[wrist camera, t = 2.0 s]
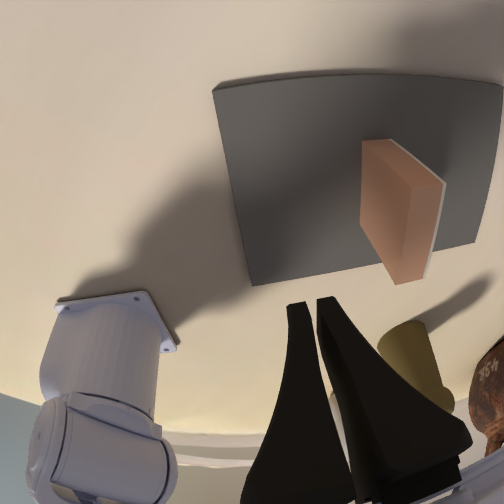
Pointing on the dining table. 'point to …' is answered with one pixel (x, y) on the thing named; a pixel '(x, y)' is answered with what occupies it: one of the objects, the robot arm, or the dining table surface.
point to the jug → (489, 398)
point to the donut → (338, 423)
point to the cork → (415, 361)
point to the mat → (348, 161)
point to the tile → (399, 208)
